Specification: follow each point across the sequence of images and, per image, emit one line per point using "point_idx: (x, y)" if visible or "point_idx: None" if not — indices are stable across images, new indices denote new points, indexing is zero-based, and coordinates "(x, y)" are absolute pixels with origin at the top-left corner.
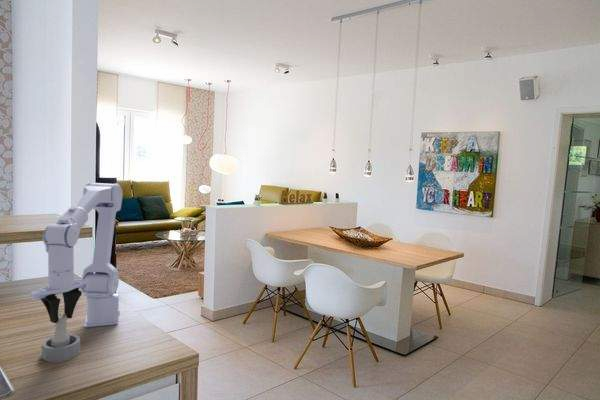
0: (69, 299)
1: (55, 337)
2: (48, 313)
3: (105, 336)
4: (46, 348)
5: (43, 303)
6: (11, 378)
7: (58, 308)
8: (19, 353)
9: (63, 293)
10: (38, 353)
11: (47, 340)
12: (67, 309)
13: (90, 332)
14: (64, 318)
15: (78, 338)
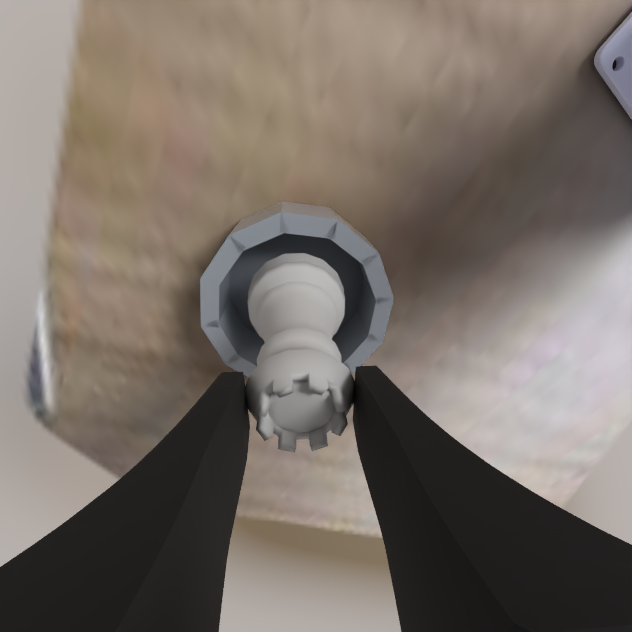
0: (413, 619)
1: (260, 328)
2: (182, 420)
3: (526, 275)
4: (204, 328)
5: (45, 539)
6: (57, 331)
7: (222, 592)
8: (148, 97)
9: (475, 614)
10: (224, 191)
11: (249, 244)
12: (373, 453)
13: (540, 165)
14: (307, 438)
15: (369, 347)
